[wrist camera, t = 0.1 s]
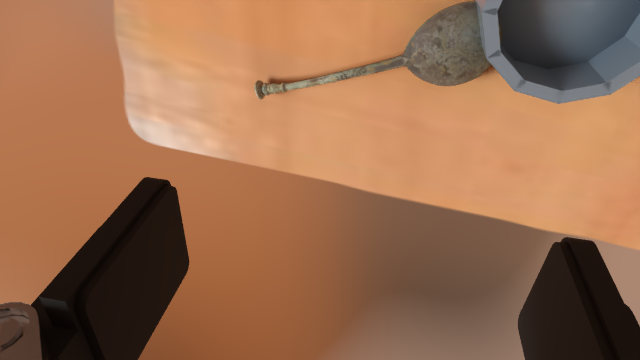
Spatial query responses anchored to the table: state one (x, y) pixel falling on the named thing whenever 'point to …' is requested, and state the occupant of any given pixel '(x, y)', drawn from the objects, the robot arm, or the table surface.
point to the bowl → (562, 45)
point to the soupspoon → (422, 53)
